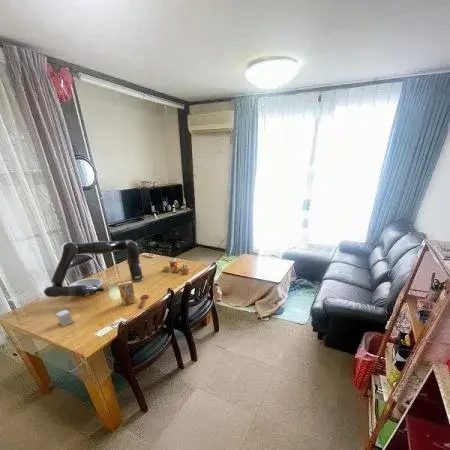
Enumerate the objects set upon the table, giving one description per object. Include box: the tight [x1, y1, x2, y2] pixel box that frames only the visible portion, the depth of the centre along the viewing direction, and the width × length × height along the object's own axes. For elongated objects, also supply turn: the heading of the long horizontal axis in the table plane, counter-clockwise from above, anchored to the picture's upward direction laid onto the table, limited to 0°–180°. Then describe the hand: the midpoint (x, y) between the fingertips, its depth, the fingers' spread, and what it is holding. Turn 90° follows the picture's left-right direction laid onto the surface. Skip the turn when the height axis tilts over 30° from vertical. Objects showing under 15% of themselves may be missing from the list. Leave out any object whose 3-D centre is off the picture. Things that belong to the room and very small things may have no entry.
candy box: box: [117, 280, 137, 306], centre depth 177 cm, size 9×4×15 cm, turn 117°
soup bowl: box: [68, 277, 104, 288], centre depth 194 cm, size 24×24×7 cm
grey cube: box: [55, 309, 74, 327], centre depth 158 cm, size 6×6×7 cm
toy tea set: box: [162, 257, 190, 275], centre depth 229 cm, size 26×16×10 cm, turn 68°
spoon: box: [138, 294, 149, 309], centre depth 181 cm, size 17×5×1 cm, turn 4°
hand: (103, 289), depth 174 cm, fingers closed
